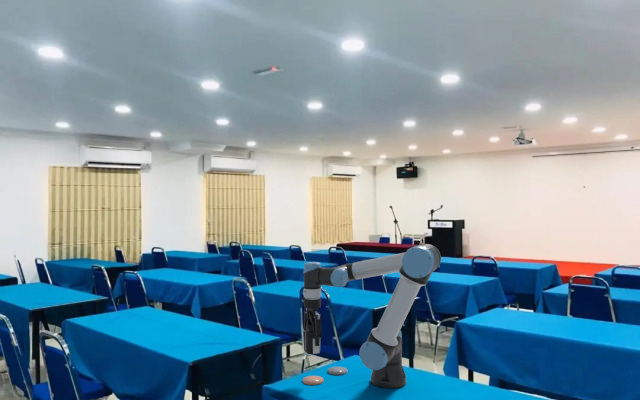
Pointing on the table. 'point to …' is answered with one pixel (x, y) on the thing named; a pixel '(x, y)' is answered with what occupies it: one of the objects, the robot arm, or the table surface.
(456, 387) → the table surface
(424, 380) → the table surface
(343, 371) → the slate coaster
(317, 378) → the terracotta coaster
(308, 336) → the supplement bottle
